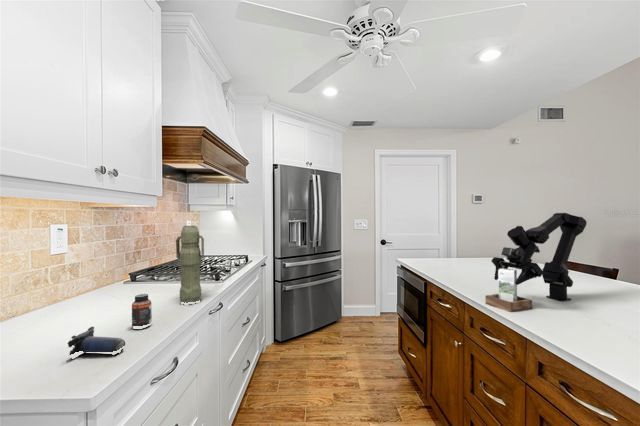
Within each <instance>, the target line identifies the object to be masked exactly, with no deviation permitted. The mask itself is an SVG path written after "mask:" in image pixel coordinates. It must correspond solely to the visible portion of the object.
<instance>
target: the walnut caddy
mask: <svg viewBox="0 0 640 426" xmlns="http://www.w3.org/2000/svg"><path fill="white" fill-rule="evenodd" d="M485 305H489V306H490V307H495V308H497V309H500V310H504V311H506V312H509V313H515V312H521V311H526V310H531V309H533V300H532V299H530V298H525V297H523V296H519V295H517V301H513V302H509V301H505V300H502V299H499V293H495V294H487V295H485Z"/></svg>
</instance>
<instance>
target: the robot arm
mask: <svg viewBox="0 0 640 426" xmlns="http://www.w3.org/2000/svg"><path fill="white" fill-rule="evenodd" d="M586 227H587V220H586V219H585V218H584V217H582V216H577V215H573V214H569V213H567V212H555V213H553V214H552V216H550V217H549V218H548V219H546V220H545V221H544V222H542V223H541V224H540V225H538V226H536V227H530V228H529V229H527V230H525V229H524V227H523V226H522V225H516V227H513V228H511V229H509V230H508V231H507V233H506V234H507V237H509V239H510V240H511V241H512V243H513V244H514V245H515V246H517V247H515V248H513V247H505V246H504V247H503V248H502V251H501V256H505V257H506V260H507V261H506V260H505V259H504V258H503V257H497V256H494V257H493V258H491V260H490V262H491V263H492V264H493V266H495V271H494V278H493V279H494V280H495V281H497V280H498V270H499V269H500V268H504V269H509V268H511V269H515V270H521V272H520V273H519V275H518V277H517V280H516V282H515V284H516V285H517V286H518V285H521V284H522V283H524V282H526V281H529V280H532V279H537V278H541V277H542V278H543V282H544V284H548V285H549V287H548V289H549V291H548V292H549V295H546V296H545V297H546V298H547V299H551V300H556V301H561V302H566V301H571V300H572V298H570V297H568V288H572V287H573V285H574V281H573V280H572V278H571V277H570V276H569V272H570V271H569V270H568V266H567V264H568V260H569V258H570V256H571V255H570V254H571V252H572V251H573V246H574V244H575V241H576V239H577V238H576V237H577V236H579V235H580V234H582V233H583V232H584V230H585V228H586ZM558 228H560V230H561V236H560V238H559V240H558V244H557V247H556V249H555V252H554V255H553V257H552V260H551V261H550V262H547V261H545V263H544V266H543V268H541V267H540V266H539V264H538V263H537V262H532V261H533V259H532V257H533V255H534V254H535V253H538V254H539V253H540V252H541V250H540V248H539V246H537V244H539V245H541V244H543V245H544V244H545V243H546V242H547V241H548V240H549V238H550V234H551V233H553V232H554V231H555V230H557V229H558Z"/></svg>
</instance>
